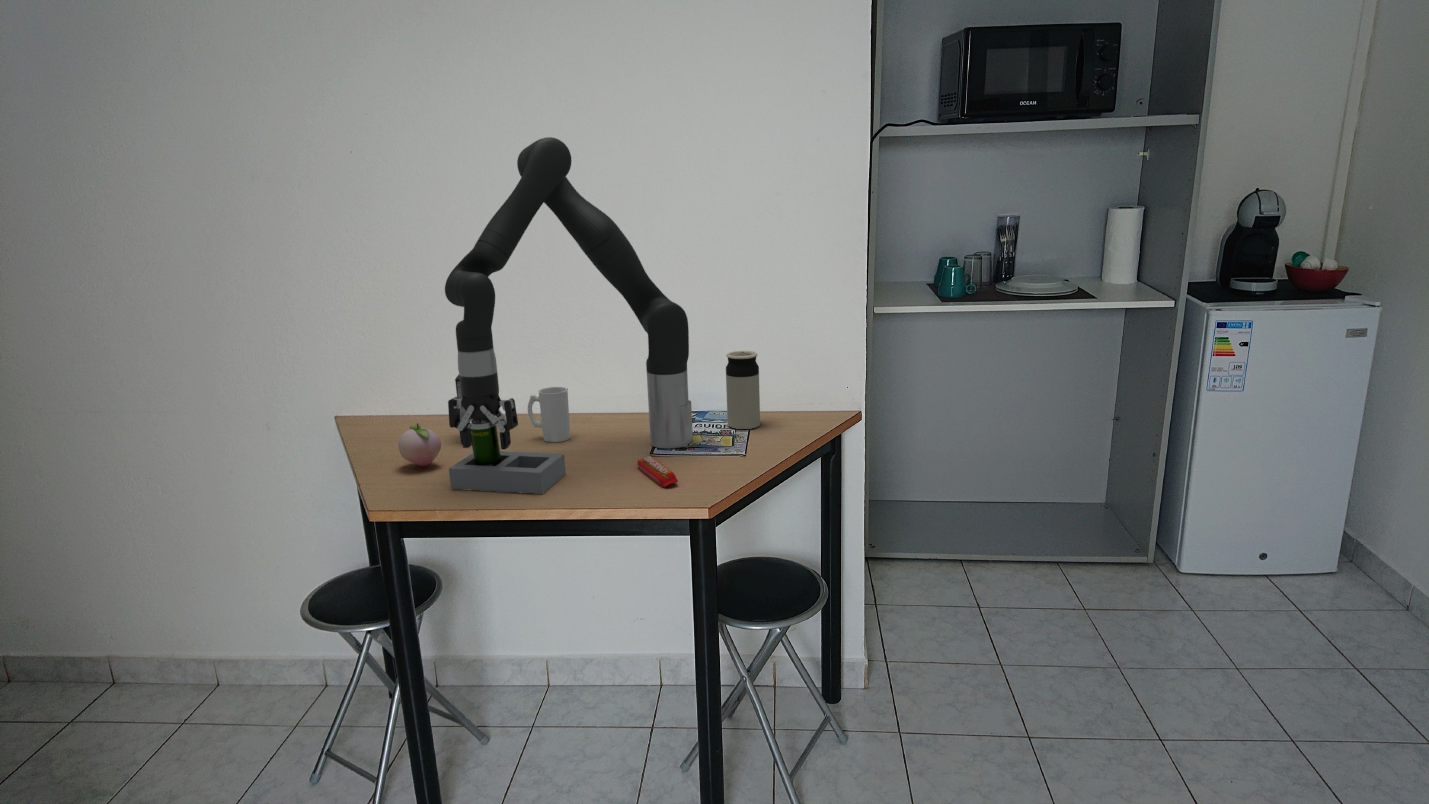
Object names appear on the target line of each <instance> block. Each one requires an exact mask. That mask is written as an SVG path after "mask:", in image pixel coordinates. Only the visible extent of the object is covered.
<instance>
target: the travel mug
mask: <svg viewBox="0 0 1429 804" xmlns="http://www.w3.org/2000/svg"><path fill="white" fill-rule="evenodd" d="M725 355H726V357H727V361H728V362H727V364H726V366H725V379H726V380H725V383H726V385H725V386H726V388H725V389H726V412H727V413H726V414H727V415H726V416H727V420H726V421H727V426H728V427H729V426H730V427H732V428H736V429H735V430H737V429H749V430H753V429H752V428H754V429H757V428H758V427H760V425H761V408H760V407H761V404H760V403H761V400H760V395H761V394H760V368H759V365H758V363H757V357H758V352H756V351H751V350H736V351H731V352H728V353H726V354H725ZM730 427H729V428H730ZM732 428H731V429H732Z"/></svg>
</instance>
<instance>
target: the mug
mask: <svg viewBox="0 0 1429 804" xmlns="http://www.w3.org/2000/svg"><path fill="white" fill-rule="evenodd" d="M537 393H538V395H537V394H530V398H529V400H528V403H527V413H528V417H529V419H530V421H531V423H532V426H533V427H534V428H540V429H541V430H542V434H543V435H542V436H543V440H544V441H545V442H547V443H561V442H565V441H568V440H569V439H570V438H571V428H570V410H569V408H570V407H569V394H568V393H569V392H568V388H567V387H564V386H548V387H545V388H540V389H539V390H538V392H537ZM535 402H539V408H540V409H539V410H540V418H541V421H540V420H537V419H536V417H535V416H534V413H533V405H534V403H535Z"/></svg>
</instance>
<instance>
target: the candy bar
mask: <svg viewBox="0 0 1429 804" xmlns="http://www.w3.org/2000/svg"><path fill="white" fill-rule="evenodd" d="M636 464H637V467H638V468H639V470H640V471H641V472H642V473H643V474H645V475H646V476H647V477H649V478H650V479H651V480H652V479H653V480H652V481H654V482H655V483H656V484H657V483H658V484H657V485H658V486H660V485H661V486H660V487H661V488H668V487H670V486H672V485H674V484H677V483H678V478H677V477H676V475H675V473H674V471H672V470H671V469H669V468H668V467H667V466H666V465H664V464H663V463H662V462H660V461H659V460H657V459H656V458H654V457H653V456H651V455H646V456H644V457H642V458H639V460H637V463H636ZM667 486H668V487H667Z"/></svg>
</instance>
